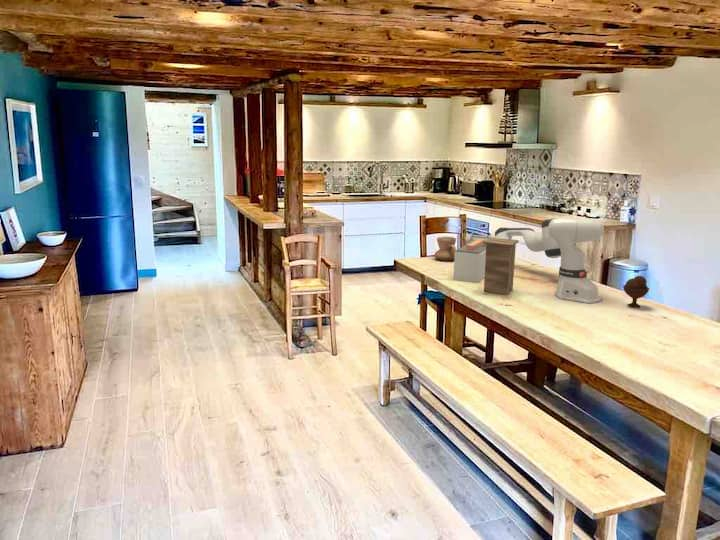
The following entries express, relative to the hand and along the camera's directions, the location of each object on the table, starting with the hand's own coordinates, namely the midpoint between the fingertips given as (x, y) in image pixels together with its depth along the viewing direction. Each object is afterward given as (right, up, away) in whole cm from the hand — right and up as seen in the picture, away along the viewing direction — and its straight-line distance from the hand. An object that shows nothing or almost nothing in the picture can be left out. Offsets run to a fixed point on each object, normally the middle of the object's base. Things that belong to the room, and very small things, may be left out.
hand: (480, 235), depth 344 cm
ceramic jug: (-14, -14, +37) cm, 42 cm away
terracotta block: (-4, -7, -6) cm, 9 cm away
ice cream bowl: (+60, -37, -62) cm, 94 cm away
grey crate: (-7, -24, -9) cm, 27 cm away
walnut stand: (+2, -31, -36) cm, 47 cm away
